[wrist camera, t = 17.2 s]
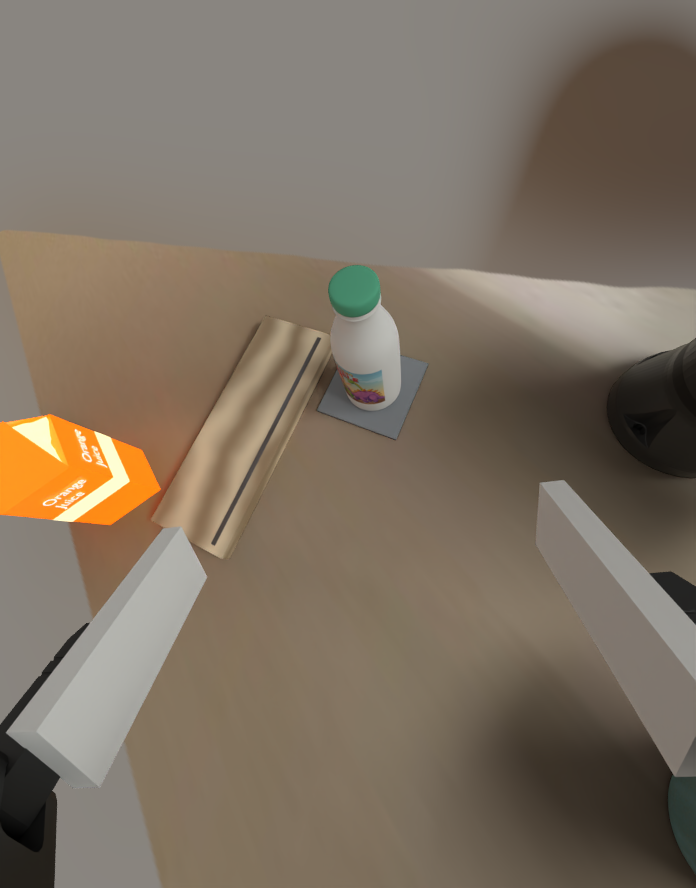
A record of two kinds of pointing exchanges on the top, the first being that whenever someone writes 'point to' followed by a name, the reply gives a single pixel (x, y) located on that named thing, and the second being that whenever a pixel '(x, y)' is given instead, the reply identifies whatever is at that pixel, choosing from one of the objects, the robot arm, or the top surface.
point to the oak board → (245, 436)
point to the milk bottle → (364, 339)
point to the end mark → (380, 420)
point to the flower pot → (684, 815)
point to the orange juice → (69, 472)
